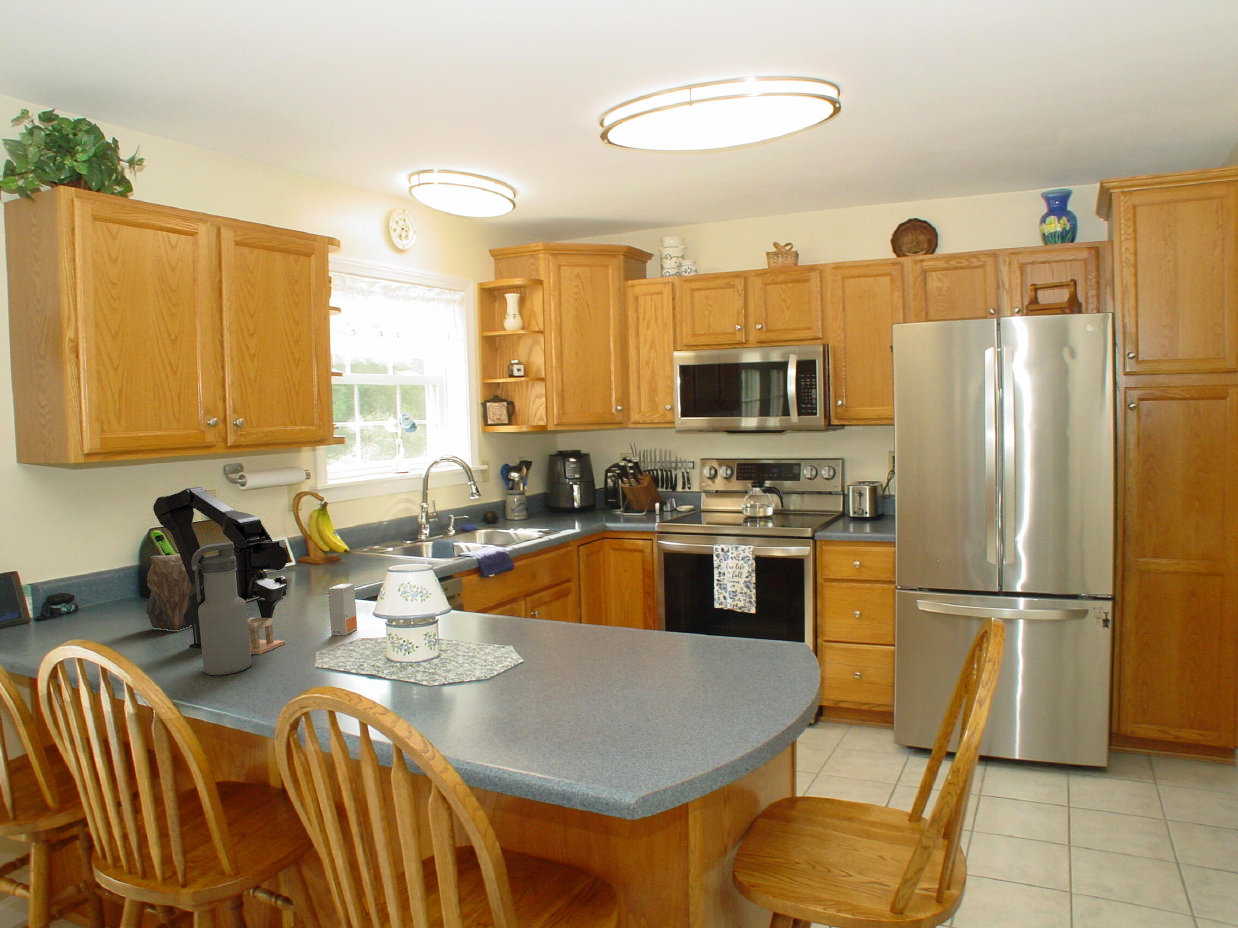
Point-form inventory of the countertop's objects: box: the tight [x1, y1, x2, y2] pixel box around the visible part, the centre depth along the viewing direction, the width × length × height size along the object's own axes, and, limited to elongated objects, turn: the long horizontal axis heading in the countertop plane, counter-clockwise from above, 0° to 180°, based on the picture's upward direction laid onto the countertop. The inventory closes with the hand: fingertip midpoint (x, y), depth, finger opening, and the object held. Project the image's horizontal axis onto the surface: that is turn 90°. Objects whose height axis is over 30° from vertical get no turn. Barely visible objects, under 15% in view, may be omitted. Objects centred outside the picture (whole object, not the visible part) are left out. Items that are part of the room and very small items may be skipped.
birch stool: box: [248, 617, 275, 649], centre depth 210 cm, size 6×6×6 cm
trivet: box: [250, 639, 286, 655], centre depth 210 cm, size 10×9×1 cm
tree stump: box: [145, 553, 192, 630], centre depth 240 cm, size 13×13×20 cm
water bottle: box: [192, 541, 252, 676], centre depth 192 cm, size 10×10×28 cm
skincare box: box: [327, 583, 358, 636], centre depth 220 cm, size 6×4×12 cm
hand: (254, 632), depth 210 cm, fingers open, 9 cm apart
